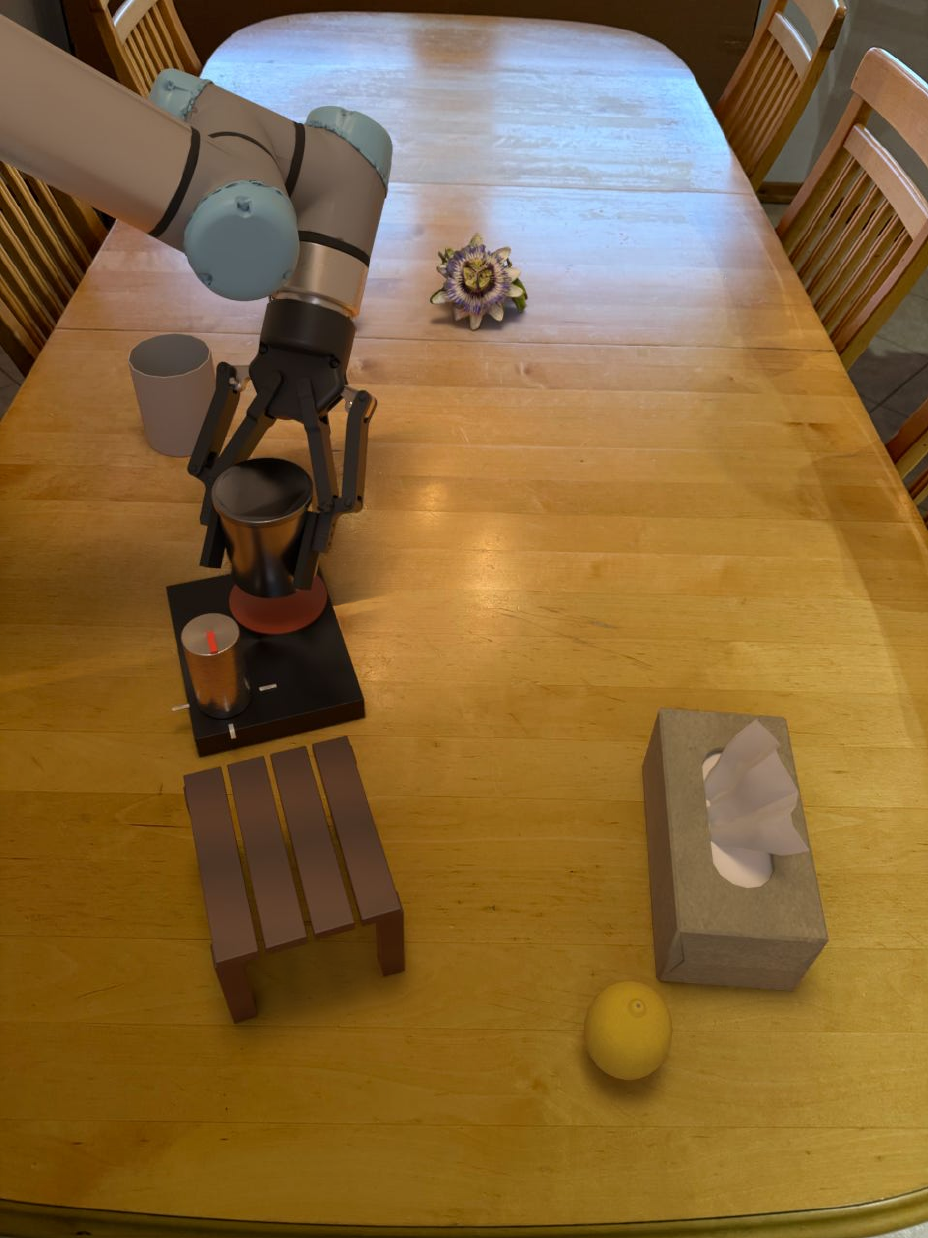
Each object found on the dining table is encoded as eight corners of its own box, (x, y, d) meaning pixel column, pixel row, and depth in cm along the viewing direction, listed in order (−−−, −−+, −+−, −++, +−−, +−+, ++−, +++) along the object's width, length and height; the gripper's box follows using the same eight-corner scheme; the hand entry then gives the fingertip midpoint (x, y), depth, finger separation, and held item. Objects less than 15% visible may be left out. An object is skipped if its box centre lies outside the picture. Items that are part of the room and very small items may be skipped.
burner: (221, 575, 92) (221, 574, 92) (315, 557, 94) (315, 555, 94) (238, 644, 86) (238, 642, 86) (337, 622, 88) (337, 621, 88)
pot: (220, 545, 89) (204, 466, 82) (310, 528, 91) (301, 449, 84) (235, 609, 84) (220, 530, 77) (331, 589, 85) (323, 510, 79)
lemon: (658, 1104, 64) (682, 1060, 58) (573, 1087, 65) (588, 1042, 59) (661, 1019, 68) (684, 970, 62) (581, 1004, 68) (596, 954, 62)
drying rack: (202, 849, 75) (179, 775, 68) (356, 808, 78) (350, 734, 71) (234, 1027, 66) (211, 964, 59) (406, 973, 69) (405, 907, 62)
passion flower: (473, 363, 131) (424, 307, 122) (460, 307, 137) (412, 249, 127) (547, 321, 127) (503, 259, 118) (531, 265, 133) (487, 202, 123)
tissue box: (795, 996, 69) (872, 888, 58) (656, 985, 69) (704, 875, 58) (759, 771, 82) (815, 646, 70) (641, 762, 82) (678, 636, 71)
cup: (131, 437, 109) (110, 358, 102) (185, 402, 114) (169, 324, 107) (186, 466, 106) (168, 387, 99) (239, 429, 111) (227, 351, 103)
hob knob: (194, 684, 83) (176, 616, 77) (246, 672, 84) (233, 605, 78) (202, 724, 80) (184, 658, 74) (256, 711, 81) (243, 645, 75)
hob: (156, 607, 92) (150, 587, 90) (317, 574, 96) (315, 555, 94) (184, 769, 80) (179, 750, 78) (367, 724, 84) (366, 705, 82)
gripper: (440, 344, 84) (381, 605, 85) (219, 301, 88) (166, 553, 89) (420, 319, 77) (357, 605, 78) (180, 274, 80) (123, 549, 81)
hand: (255, 577), depth 83 cm, fingers closed on pot, 8 cm apart
